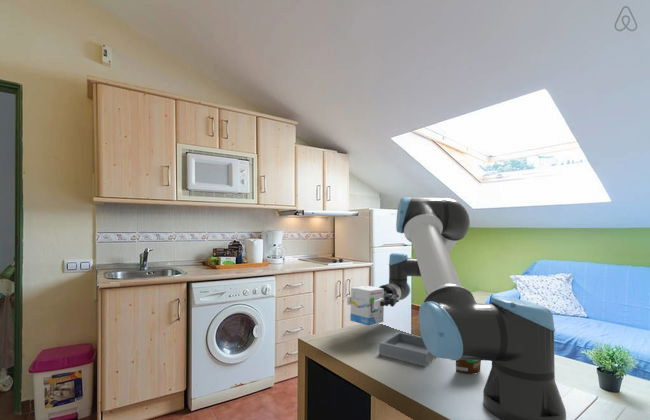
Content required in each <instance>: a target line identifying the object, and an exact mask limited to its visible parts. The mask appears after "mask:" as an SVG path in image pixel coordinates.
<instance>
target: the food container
mask: <svg viewBox="0 0 650 420" xmlns="http://www.w3.org/2000/svg"><path fill="white" fill-rule="evenodd" d="M481 364H482V360H455V372H456V373H457V372H458V374H462V373H463V374H464V375H475V373H477V374H478V372H479V373H480V372H481Z"/></svg>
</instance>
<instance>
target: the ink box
mask: <svg viewBox="0 0 650 420" xmlns="http://www.w3.org/2000/svg"><path fill="white" fill-rule="evenodd" d="M350 296H351V304H350V316H349V318H350V319H349V320H350V321H351V322H355V323H358V324H361V325H365V326H372V325H375V324H380V323H381V324H382V323H383V322H384V314H385V313H384V307H385V306H383V307H380V308H378V309H374V300H377V299H380V298H384V289H383V288H379V287H378V286H374V285H373V286H372V285H361V286H353V287H350Z"/></svg>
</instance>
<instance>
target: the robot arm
mask: <svg viewBox="0 0 650 420" xmlns="http://www.w3.org/2000/svg"><path fill="white" fill-rule="evenodd" d="M469 216H470V215H469V213H468V211H467V210H466V208H465V207H464V206H463V204H461V203H460V202H459V201H457V200H455V199H453V198H448V197H424V196H423V197H418V196H417V197H414V196H409V197H408V196H407V197H406V196H405V197H401V198H400V199H399V202H398V206H397V211H396V224H395V226H396V227H395V228H396V233H400V234H404V237H405V238H406V240H407V241H408V242H410V243H412V247H413V252H414V255H415V258H414V257H413V258H412V257H408V254H407V253H403V252H401V253H400V252H398V253H397V252H394V253H390V254H389V258H388V259H389V260H388V261H389V262H388V273H389V274H388V276H389V277H388V283H385V284H381V285H380V286H379V287H378V288H383V289H384V298H380V299H377V300H374V309H378V308H380V307H383V306H384V307H388V306H389V305H390V307H394V306H395V305H396V304H397V303H399V302H400V301H402V300H404V299H406V298H407V297H409V295H410V294H411V287H410V285H409V284H410V283H408V277H421V280H422V282H423V283H422V284H423V287H424V291H425V293H426V294H425V295H426V296H425V297H424V299H423V303H421V305H420V306H419V310H418V324H419V325H420V326H419V331H420V332H419V333H420V336H421V337H422V339H423V341H424V344H425V346H426V348H427V349H428V351H429V352H430V353H431V354H432V355H434V356H435V357H436V358H438V359H446V360H450V361H456V360H481V361H491V369H490V371H489V374H488V377H487V380H486V383H485V385H484V388H483V391H482V393H483V394H482V396H483V398H482V400H483V401H482V402H483V405H484V406H485V408H486V409H487V410H488V411H489V412H490V413H491V414H493V415H494V416H496V417H497V418H499V419H501V420H567V411H566V408H565V405H564V402H563V400H562V397H561V394H560V391H559V388H558V385H557V382H556V378H555V377H556V375H555V370H556V369H555V364H556V363H555V331H556V329H555V323H554V315H553V313H552V311H551V310H550V309H549V308H548V307H546V306H544V305H541V304H538V303H534V302H531V301H527V300H522V299H517V298H512V297H507V296H499V295H495V296H492V297H491V298H490V303H477V302H476V300H475V297H474V294H473V293H472V292H471V291H470V290H469V289H468V288H466V287H463V285H462V283H461V280H460V278H459V276H458V273H457V271H456V268H455V266H454V264H453V261H452V258H451V256H450V253H451V251H452V250H453V248H454V247H455V245H456V244H457V242H458V241H460V240H462V239H464V237H465V236H466V235H467V233H468V231H469V228H470V225H471V223H470V217H469ZM346 305H349V306H351V295H348V296H347V297H346Z"/></svg>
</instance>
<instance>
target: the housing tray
mask: <svg viewBox="0 0 650 420" xmlns="http://www.w3.org/2000/svg"><path fill="white" fill-rule="evenodd" d="M378 353H379V356H382V357H386V358H391V359H395V360H399V361H403V362H405V363H410V364H415V365H417V364H419V366H421V365H422V366H421V367H429V365H430V364H431V363H432V362H433V361H434V360H435V359H436V358H435V356H434V355H432V354H431V353H430V352H429V351H428V349H427V348H426V346H425V344H424V341H423V339H422V336H421V335H420V336H419V335H415V334H411V333H406V332H401V331H397V332H395V333H394V334H392V335H391V336H388V337H387V338H385V339H384V340H382V341H381V342H379V352H378ZM434 358H435V359H434ZM433 359H434V360H433ZM432 360H433V361H432ZM431 361H432V362H431ZM430 362H431V363H430ZM429 363H430V364H429ZM428 364H429V365H428Z"/></svg>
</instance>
